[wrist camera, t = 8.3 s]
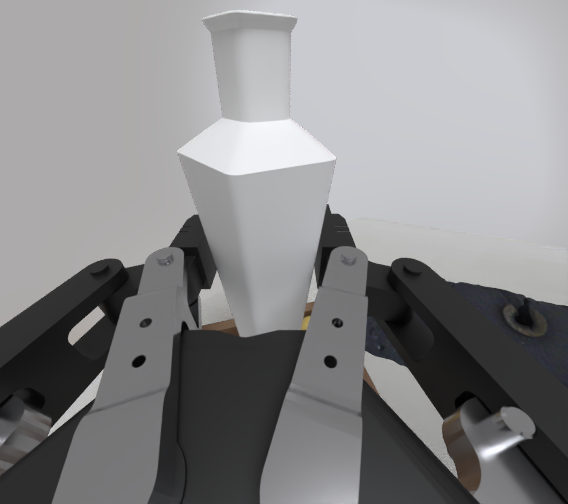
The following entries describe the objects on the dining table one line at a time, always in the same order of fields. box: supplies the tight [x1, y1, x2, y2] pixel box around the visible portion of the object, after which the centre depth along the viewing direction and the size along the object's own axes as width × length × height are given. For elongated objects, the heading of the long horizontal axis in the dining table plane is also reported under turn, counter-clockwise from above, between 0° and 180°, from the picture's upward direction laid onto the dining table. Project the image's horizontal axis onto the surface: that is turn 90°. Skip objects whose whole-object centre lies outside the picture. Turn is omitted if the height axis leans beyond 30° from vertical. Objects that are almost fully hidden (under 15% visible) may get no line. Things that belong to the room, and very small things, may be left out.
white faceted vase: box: [177, 10, 336, 337], centre depth 10 cm, size 5×4×15 cm
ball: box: [301, 316, 310, 330], centre depth 24 cm, size 3×3×3 cm
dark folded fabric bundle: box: [365, 278, 568, 388], centre depth 26 cm, size 15×22×5 cm
